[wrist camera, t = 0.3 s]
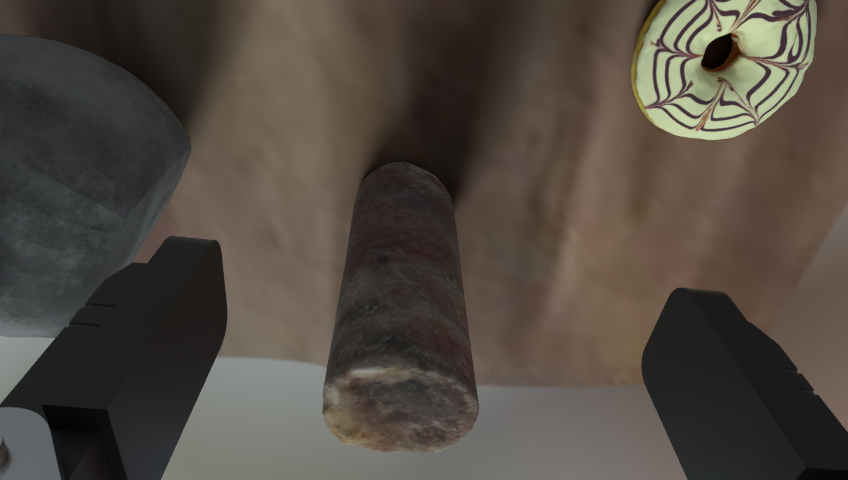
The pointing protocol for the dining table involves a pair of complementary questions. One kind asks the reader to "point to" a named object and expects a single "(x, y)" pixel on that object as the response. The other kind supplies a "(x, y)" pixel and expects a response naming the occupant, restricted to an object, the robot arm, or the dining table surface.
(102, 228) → the pitcher
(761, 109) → the decorated donut
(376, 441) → the brown cylinder
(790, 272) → the dining table surface
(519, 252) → the dining table surface
